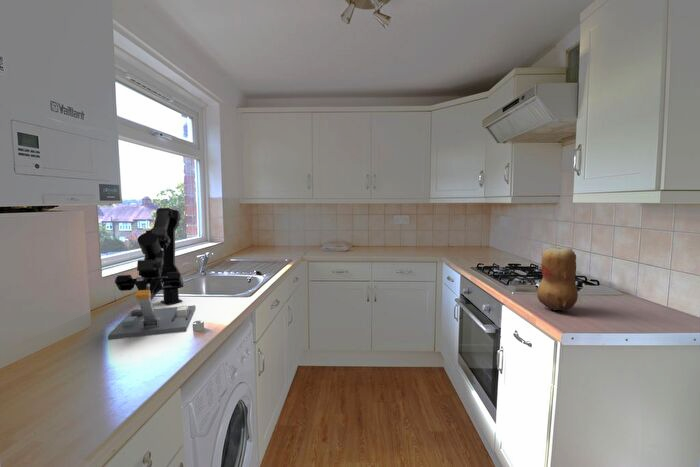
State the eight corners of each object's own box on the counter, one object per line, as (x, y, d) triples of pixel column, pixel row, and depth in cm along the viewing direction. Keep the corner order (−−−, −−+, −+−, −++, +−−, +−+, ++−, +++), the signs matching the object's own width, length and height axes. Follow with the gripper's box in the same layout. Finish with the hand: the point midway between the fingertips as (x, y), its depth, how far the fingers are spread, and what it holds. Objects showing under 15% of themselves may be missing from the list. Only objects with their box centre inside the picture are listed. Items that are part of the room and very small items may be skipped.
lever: (146, 322, 113) (136, 290, 103) (158, 321, 114) (150, 289, 105) (144, 327, 111) (134, 295, 102) (157, 326, 112) (148, 294, 103)
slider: (177, 315, 123) (177, 308, 122) (187, 314, 123) (186, 307, 123) (176, 317, 121) (176, 310, 120) (186, 316, 122) (185, 309, 121)
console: (132, 314, 128) (131, 304, 127) (195, 308, 134) (195, 299, 134) (108, 339, 105) (107, 327, 105) (186, 331, 112) (185, 319, 111)
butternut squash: (529, 305, 139) (533, 245, 137) (562, 304, 139) (565, 244, 137) (550, 316, 125) (554, 250, 123) (586, 316, 126) (590, 249, 123)
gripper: (114, 250, 108) (103, 294, 99) (179, 248, 113) (174, 289, 104) (124, 269, 116) (115, 311, 107) (184, 266, 122) (180, 305, 113)
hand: (146, 304), depth 107 cm, fingers closed, pressing on lever
